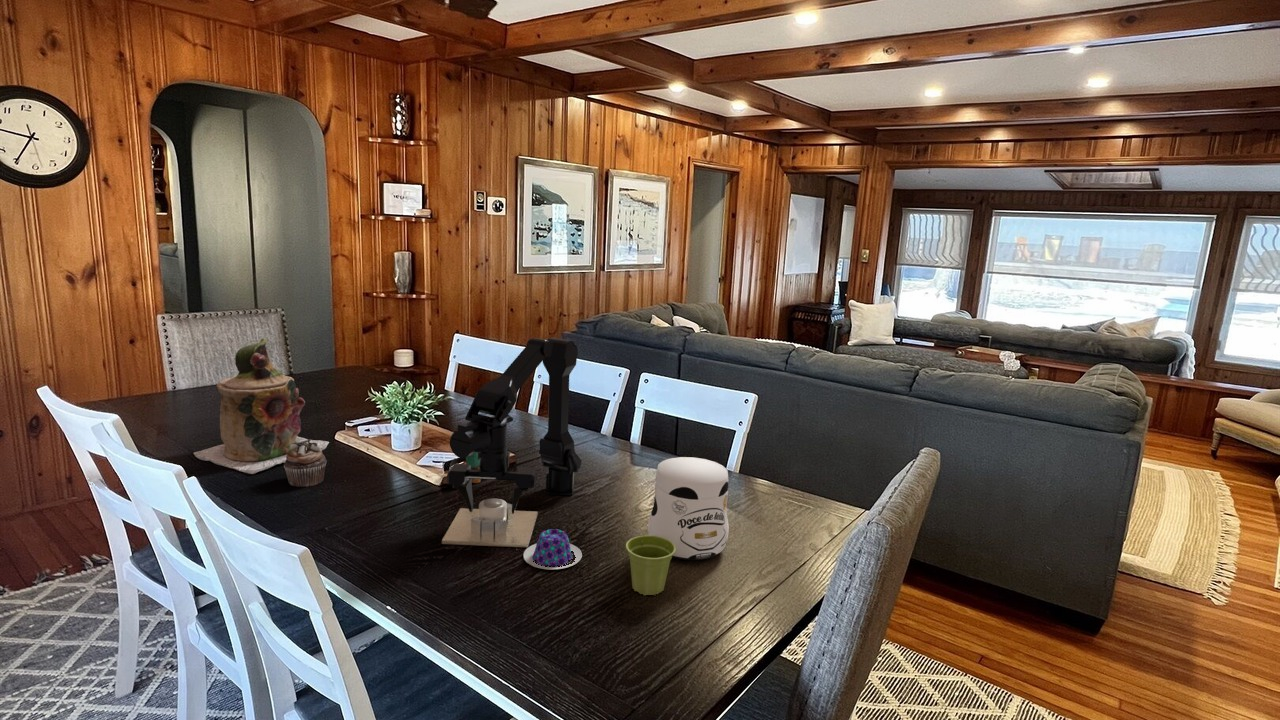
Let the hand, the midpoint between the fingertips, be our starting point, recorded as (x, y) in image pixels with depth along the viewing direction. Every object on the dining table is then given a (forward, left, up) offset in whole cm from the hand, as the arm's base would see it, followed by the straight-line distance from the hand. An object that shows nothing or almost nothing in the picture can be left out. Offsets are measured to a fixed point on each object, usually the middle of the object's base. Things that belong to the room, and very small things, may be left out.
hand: (492, 512), depth 147 cm
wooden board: (0, 0, -4) cm, 4 cm away
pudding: (-15, +11, -4) cm, 19 cm away
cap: (0, 0, -3) cm, 3 cm away
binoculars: (+12, -29, -4) cm, 32 cm away
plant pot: (-34, +22, -4) cm, 41 cm away
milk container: (-43, +5, -4) cm, 43 cm away
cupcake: (+51, -22, -4) cm, 56 cm away
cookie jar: (+71, -40, -4) cm, 81 cm away
